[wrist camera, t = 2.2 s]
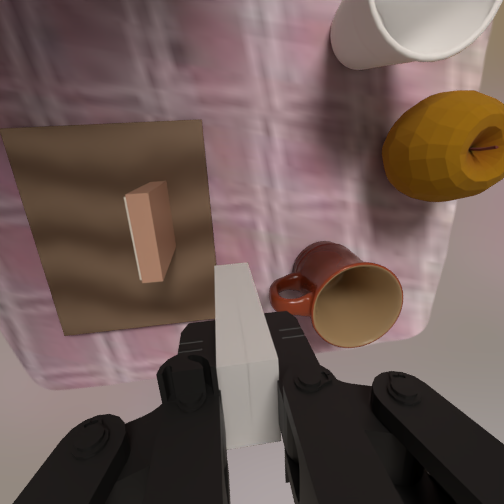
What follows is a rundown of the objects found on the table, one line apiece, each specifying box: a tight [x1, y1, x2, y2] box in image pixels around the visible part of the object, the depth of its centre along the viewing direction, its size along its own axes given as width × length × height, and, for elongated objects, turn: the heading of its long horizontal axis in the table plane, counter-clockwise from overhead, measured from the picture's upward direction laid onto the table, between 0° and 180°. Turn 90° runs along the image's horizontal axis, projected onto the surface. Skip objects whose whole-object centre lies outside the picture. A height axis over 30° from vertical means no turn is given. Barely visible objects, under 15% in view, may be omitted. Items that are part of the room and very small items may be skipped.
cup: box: [330, 0, 503, 70], centre depth 23 cm, size 10×10×11 cm
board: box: [0, 120, 216, 336], centre depth 31 cm, size 22×18×1 cm
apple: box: [382, 90, 504, 202], centre depth 27 cm, size 10×10×12 cm
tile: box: [124, 181, 176, 283], centre depth 26 cm, size 7×2×9 cm, turn 3°
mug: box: [269, 241, 403, 348], centre depth 31 cm, size 12×9×10 cm
